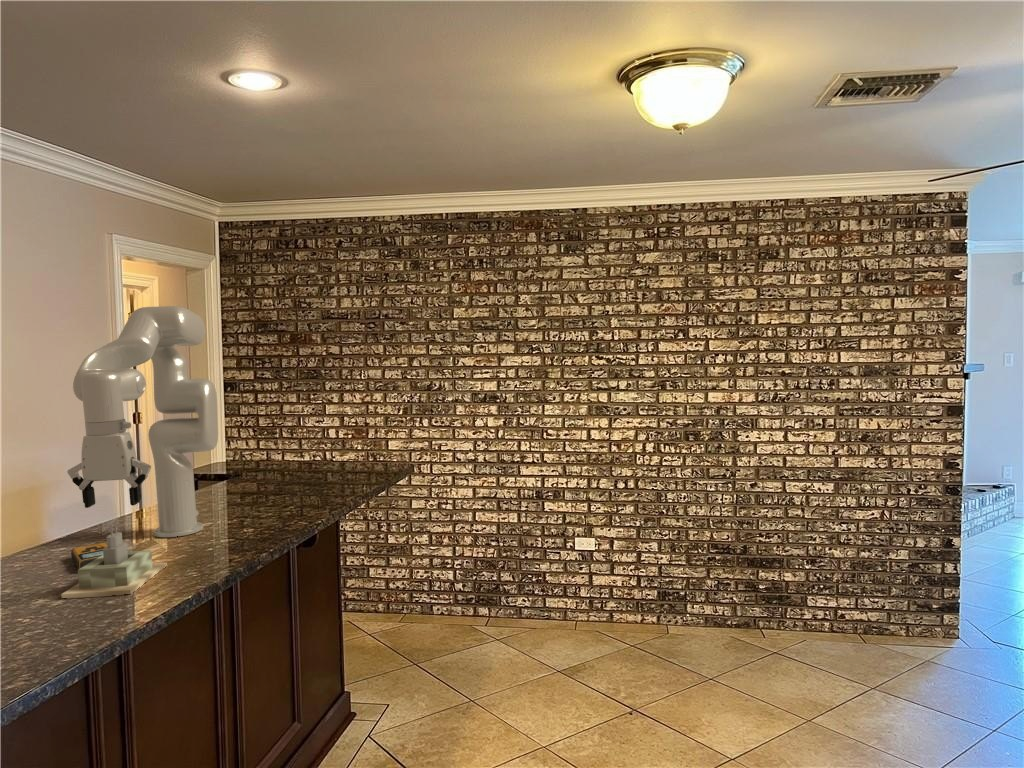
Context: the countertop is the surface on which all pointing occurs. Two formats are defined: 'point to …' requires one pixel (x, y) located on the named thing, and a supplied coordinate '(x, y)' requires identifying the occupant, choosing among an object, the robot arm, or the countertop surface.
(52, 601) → the countertop surface
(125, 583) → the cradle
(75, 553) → the electronic device
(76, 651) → the countertop surface
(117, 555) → the power adapter
